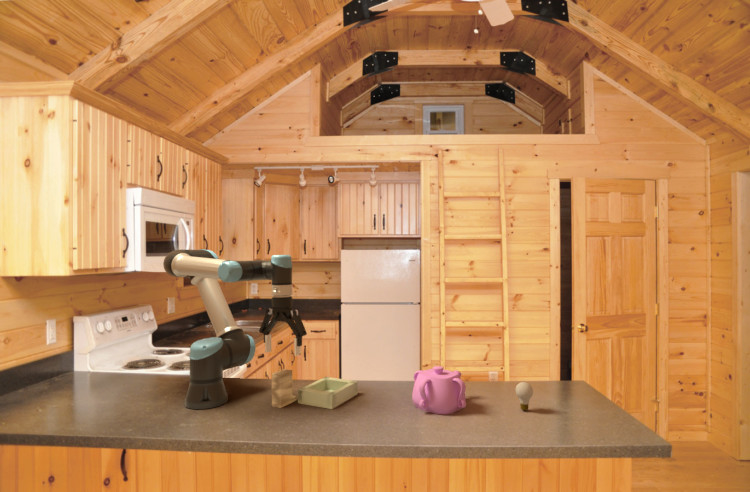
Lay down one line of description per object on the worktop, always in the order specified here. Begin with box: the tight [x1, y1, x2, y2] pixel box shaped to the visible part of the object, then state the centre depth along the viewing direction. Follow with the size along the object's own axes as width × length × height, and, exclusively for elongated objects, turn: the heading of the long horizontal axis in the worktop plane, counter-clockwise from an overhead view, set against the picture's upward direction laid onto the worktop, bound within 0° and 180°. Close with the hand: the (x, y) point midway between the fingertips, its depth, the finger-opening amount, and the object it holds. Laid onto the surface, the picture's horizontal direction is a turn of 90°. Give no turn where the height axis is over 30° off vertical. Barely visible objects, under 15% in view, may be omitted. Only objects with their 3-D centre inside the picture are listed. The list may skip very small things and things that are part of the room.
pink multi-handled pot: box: [411, 365, 467, 416], centre depth 163 cm, size 19×21×14 cm
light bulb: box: [515, 381, 534, 412], centre depth 156 cm, size 6×6×10 cm
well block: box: [297, 376, 359, 410], centre depth 171 cm, size 15×19×5 cm
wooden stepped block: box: [271, 368, 298, 409], centre depth 166 cm, size 4×10×12 cm, turn 153°
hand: (282, 353), depth 165 cm, fingers open, 13 cm apart
